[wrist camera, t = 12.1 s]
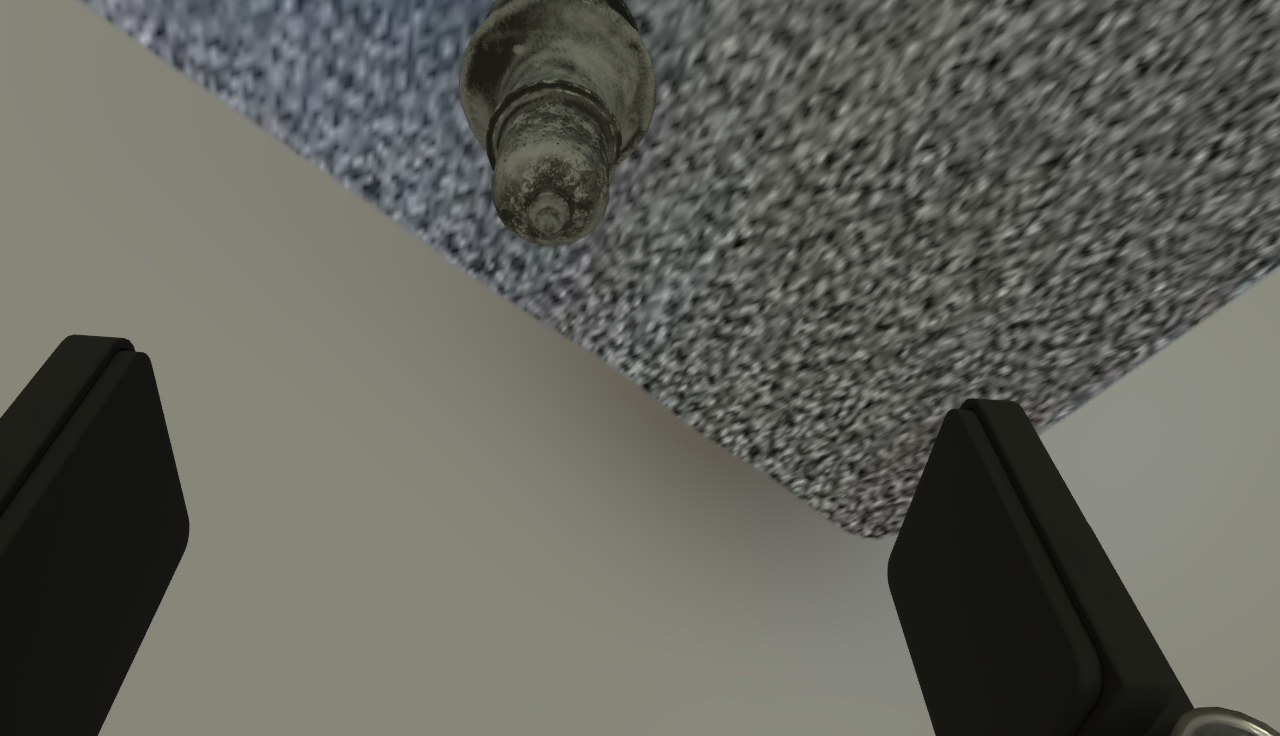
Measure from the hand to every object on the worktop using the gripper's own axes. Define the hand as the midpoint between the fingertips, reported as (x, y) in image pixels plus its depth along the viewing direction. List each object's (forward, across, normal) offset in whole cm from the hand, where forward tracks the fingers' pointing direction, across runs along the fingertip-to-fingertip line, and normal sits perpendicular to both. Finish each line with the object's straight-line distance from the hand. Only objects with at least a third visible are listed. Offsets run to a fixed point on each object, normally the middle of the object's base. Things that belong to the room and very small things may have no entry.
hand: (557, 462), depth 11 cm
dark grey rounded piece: (+23, +1, +2) cm, 23 cm away
